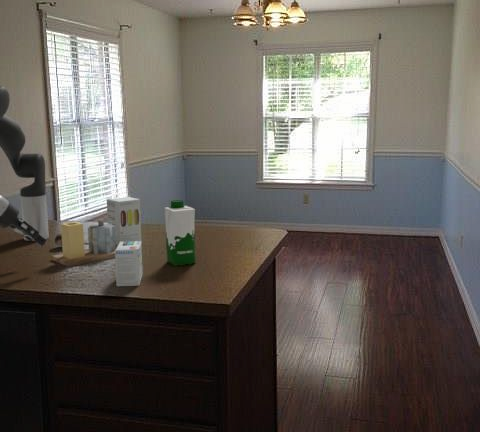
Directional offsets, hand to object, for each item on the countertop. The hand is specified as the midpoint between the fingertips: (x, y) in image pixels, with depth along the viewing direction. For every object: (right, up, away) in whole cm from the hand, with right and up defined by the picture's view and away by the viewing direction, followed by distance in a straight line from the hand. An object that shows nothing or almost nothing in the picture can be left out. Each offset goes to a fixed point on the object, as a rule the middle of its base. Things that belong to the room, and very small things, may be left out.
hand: (38, 241), depth 179 cm
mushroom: (0, -4, +28) cm, 29 cm away
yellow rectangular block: (+9, -5, +9) cm, 13 cm away
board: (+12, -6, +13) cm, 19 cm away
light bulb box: (+32, -11, -14) cm, 36 cm away
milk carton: (+45, -7, +6) cm, 46 cm away
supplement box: (+20, -2, +34) cm, 40 cm away
